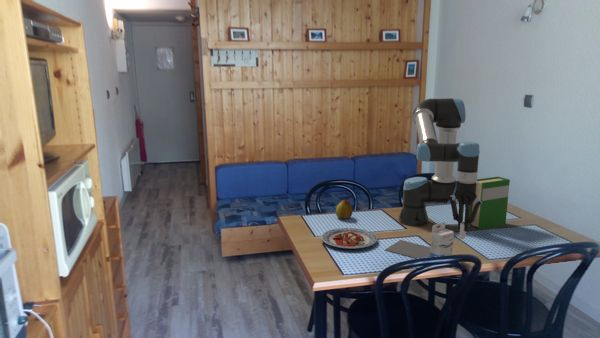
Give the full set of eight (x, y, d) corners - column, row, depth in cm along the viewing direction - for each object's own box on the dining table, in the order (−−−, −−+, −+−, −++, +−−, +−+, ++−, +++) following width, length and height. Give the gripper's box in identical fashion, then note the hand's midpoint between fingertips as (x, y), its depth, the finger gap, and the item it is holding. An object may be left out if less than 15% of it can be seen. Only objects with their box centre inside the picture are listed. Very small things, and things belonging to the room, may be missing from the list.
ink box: (439, 262, 180) (441, 228, 177) (429, 258, 185) (431, 225, 182) (452, 257, 185) (454, 224, 182) (442, 253, 189) (444, 221, 186)
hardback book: (479, 229, 218) (483, 183, 213) (468, 225, 225) (471, 179, 220) (505, 224, 225) (509, 179, 220) (493, 220, 232) (497, 176, 227)
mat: (384, 250, 193) (384, 249, 193) (400, 240, 205) (400, 239, 204) (425, 261, 181) (425, 260, 181) (440, 250, 193) (440, 249, 193)
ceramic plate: (312, 236, 211) (312, 230, 210) (358, 229, 221) (358, 223, 220) (337, 256, 188) (337, 249, 187) (388, 246, 198) (388, 240, 197)
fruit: (336, 215, 243) (336, 194, 240) (352, 215, 241) (352, 194, 239) (335, 220, 234) (335, 198, 232) (352, 220, 233) (352, 199, 231)
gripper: (446, 180, 174) (443, 237, 179) (480, 185, 166) (475, 244, 171) (453, 177, 179) (450, 232, 184) (486, 182, 171) (481, 239, 176)
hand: (462, 237), depth 177 cm, fingers closed
